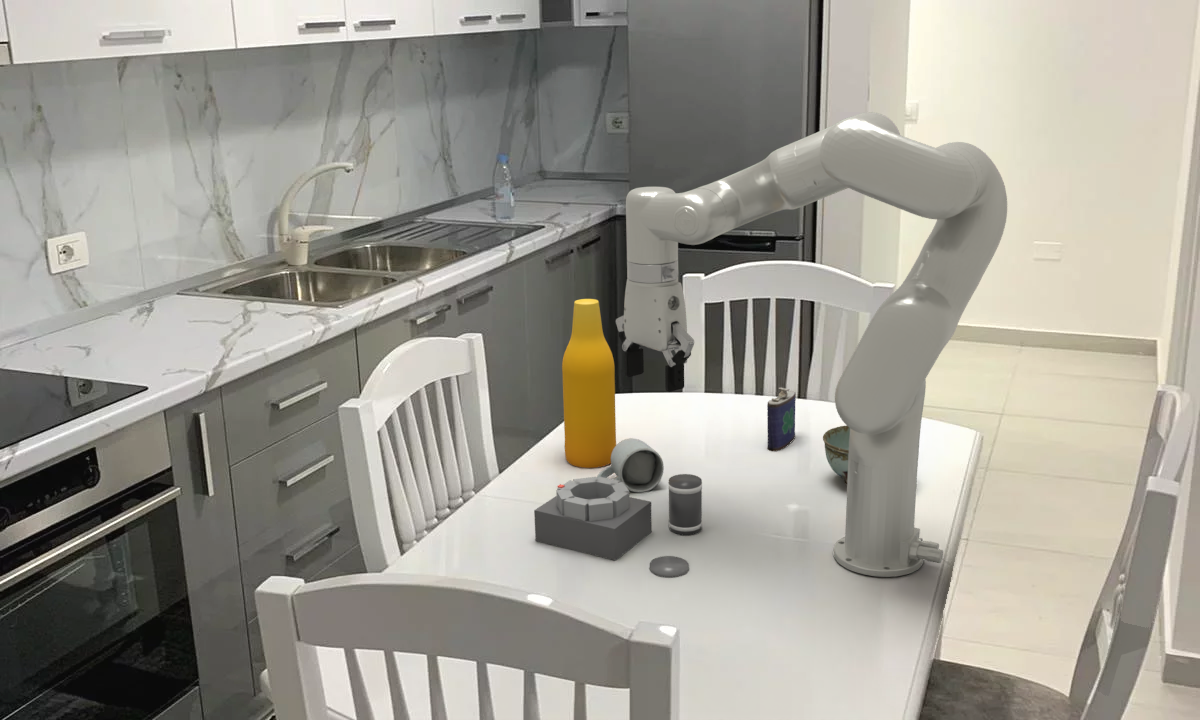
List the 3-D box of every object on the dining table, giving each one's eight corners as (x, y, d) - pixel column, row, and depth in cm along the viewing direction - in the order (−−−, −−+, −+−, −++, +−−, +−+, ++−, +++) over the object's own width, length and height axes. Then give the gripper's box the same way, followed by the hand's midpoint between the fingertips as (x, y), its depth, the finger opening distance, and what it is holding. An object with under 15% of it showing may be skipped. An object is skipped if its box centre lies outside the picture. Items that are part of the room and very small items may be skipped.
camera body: (651, 531, 176) (651, 485, 174) (615, 560, 167) (614, 511, 165) (574, 514, 183) (572, 469, 181) (535, 540, 174) (533, 493, 172)
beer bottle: (599, 472, 200) (595, 310, 191) (555, 463, 204) (549, 304, 196) (626, 455, 207) (623, 298, 199) (582, 446, 212) (578, 293, 203)
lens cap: (695, 566, 165) (695, 561, 165) (677, 582, 161) (677, 577, 160) (660, 558, 168) (660, 552, 168) (642, 573, 163) (642, 568, 163)
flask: (784, 434, 215) (786, 379, 212) (799, 437, 214) (801, 382, 211) (764, 450, 208) (765, 393, 205) (779, 453, 207) (780, 396, 203)
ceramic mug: (648, 472, 199) (647, 430, 197) (665, 489, 192) (663, 446, 190) (590, 481, 197) (588, 439, 194) (604, 499, 189) (602, 455, 187)
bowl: (853, 504, 184) (855, 458, 182) (805, 476, 196) (806, 432, 194) (921, 489, 189) (924, 443, 187) (871, 462, 201) (873, 419, 199)
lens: (707, 525, 178) (707, 477, 175) (692, 538, 174) (692, 489, 171) (678, 519, 180) (677, 471, 178) (662, 531, 176) (662, 483, 174)
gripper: (710, 277, 165) (710, 390, 170) (636, 259, 179) (638, 365, 184) (670, 285, 161) (671, 401, 166) (597, 266, 174) (600, 374, 179)
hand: (654, 382), depth 175 cm, fingers open, 9 cm apart
